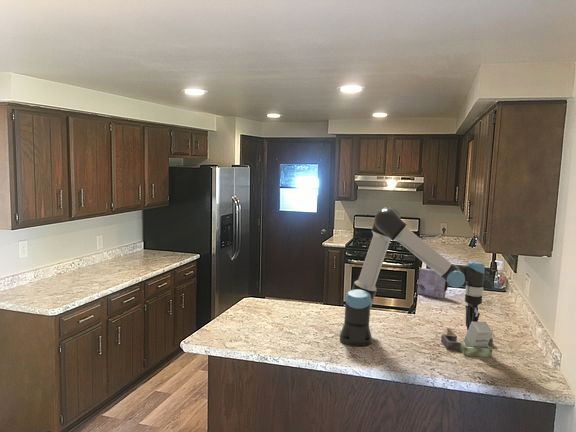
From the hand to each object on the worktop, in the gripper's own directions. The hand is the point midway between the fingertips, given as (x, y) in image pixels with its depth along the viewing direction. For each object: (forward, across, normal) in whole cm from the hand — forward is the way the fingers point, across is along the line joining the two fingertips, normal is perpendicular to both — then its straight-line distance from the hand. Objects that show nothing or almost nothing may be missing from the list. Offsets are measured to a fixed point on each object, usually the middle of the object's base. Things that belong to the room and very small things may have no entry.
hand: (469, 343), depth 228 cm
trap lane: (+2, +1, 0) cm, 2 cm away
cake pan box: (+2, +96, -6) cm, 97 cm away
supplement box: (0, -4, -1) cm, 4 cm away
